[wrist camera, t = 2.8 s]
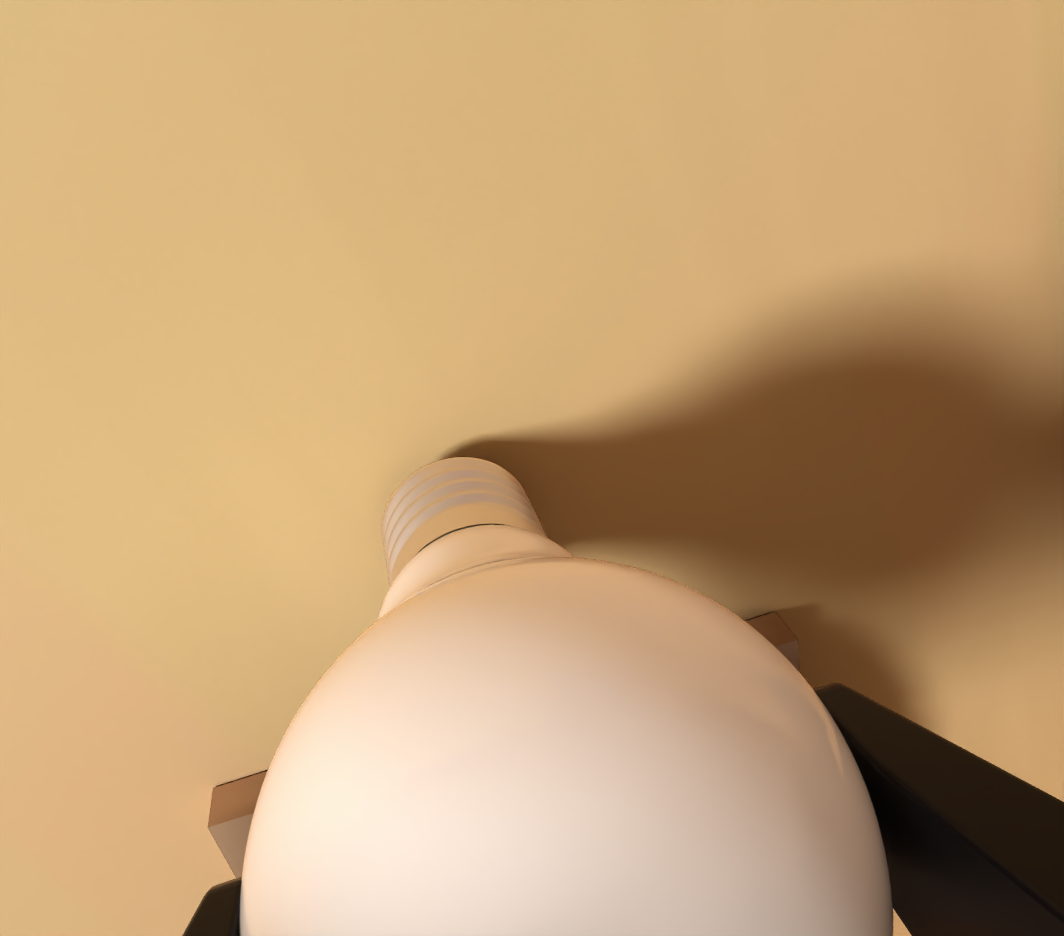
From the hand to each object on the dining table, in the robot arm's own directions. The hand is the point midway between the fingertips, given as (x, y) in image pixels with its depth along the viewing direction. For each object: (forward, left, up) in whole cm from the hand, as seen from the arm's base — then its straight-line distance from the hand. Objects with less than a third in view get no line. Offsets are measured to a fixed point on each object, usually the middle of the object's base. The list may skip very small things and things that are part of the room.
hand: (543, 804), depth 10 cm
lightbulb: (0, 0, -7) cm, 7 cm away
